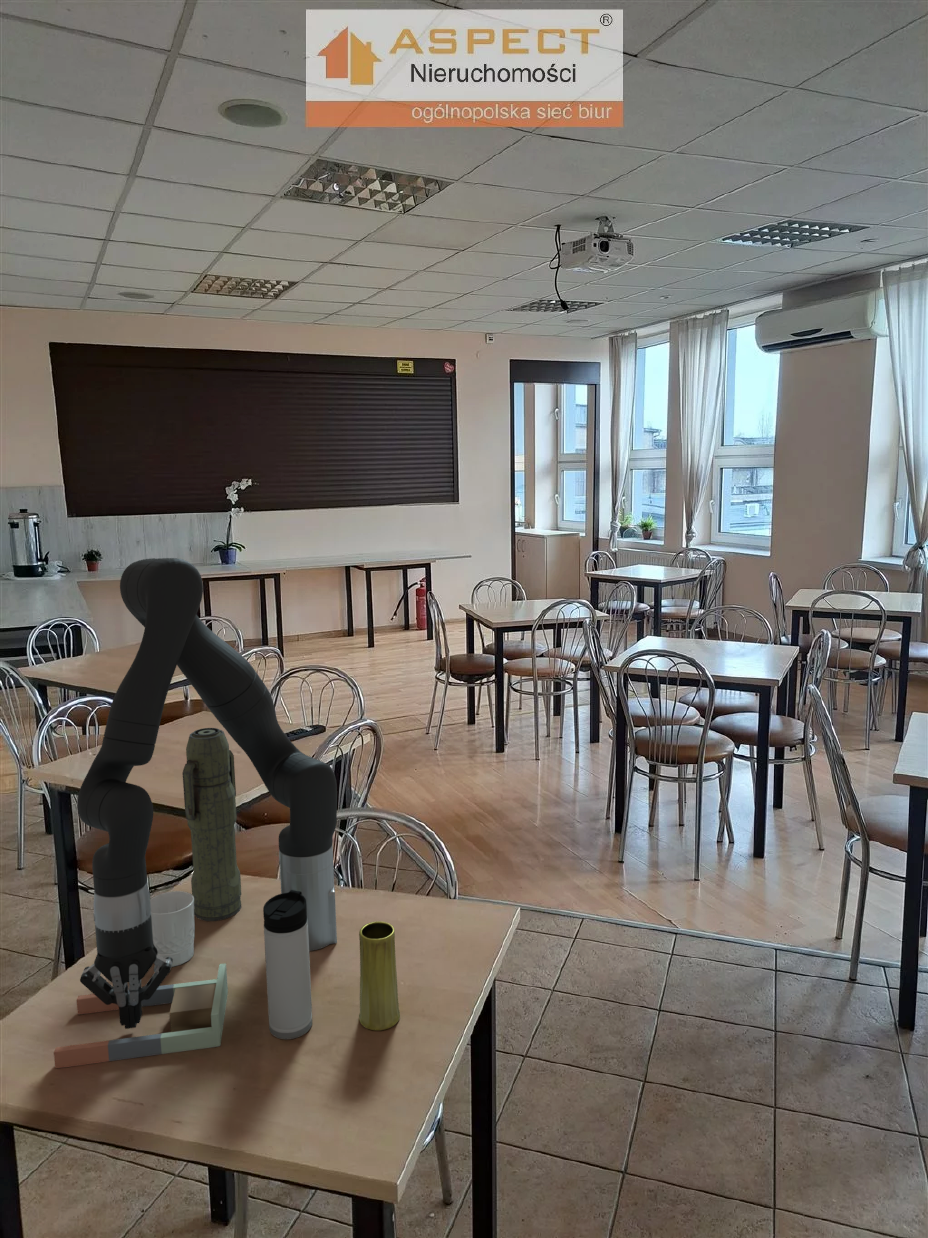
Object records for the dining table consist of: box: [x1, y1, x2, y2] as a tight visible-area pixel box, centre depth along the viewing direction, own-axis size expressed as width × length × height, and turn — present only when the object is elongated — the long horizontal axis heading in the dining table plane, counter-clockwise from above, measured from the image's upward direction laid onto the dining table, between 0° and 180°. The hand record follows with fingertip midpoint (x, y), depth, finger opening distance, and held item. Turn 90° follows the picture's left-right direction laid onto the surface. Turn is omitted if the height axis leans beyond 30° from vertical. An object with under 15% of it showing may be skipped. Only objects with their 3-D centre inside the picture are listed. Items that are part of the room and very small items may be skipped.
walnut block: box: [169, 984, 216, 1032], centre depth 124 cm, size 6×6×4 cm
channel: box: [53, 962, 229, 1069], centre depth 122 cm, size 22×13×5 cm, turn 101°
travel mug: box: [262, 890, 313, 1040], centre depth 121 cm, size 6×7×20 cm
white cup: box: [150, 890, 196, 968], centre depth 140 cm, size 8×8×10 cm
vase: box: [358, 920, 401, 1031], centre depth 123 cm, size 6×6×14 cm
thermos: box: [182, 727, 242, 922], centre depth 154 cm, size 9×12×35 cm
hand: (131, 1024), depth 121 cm, fingers closed
